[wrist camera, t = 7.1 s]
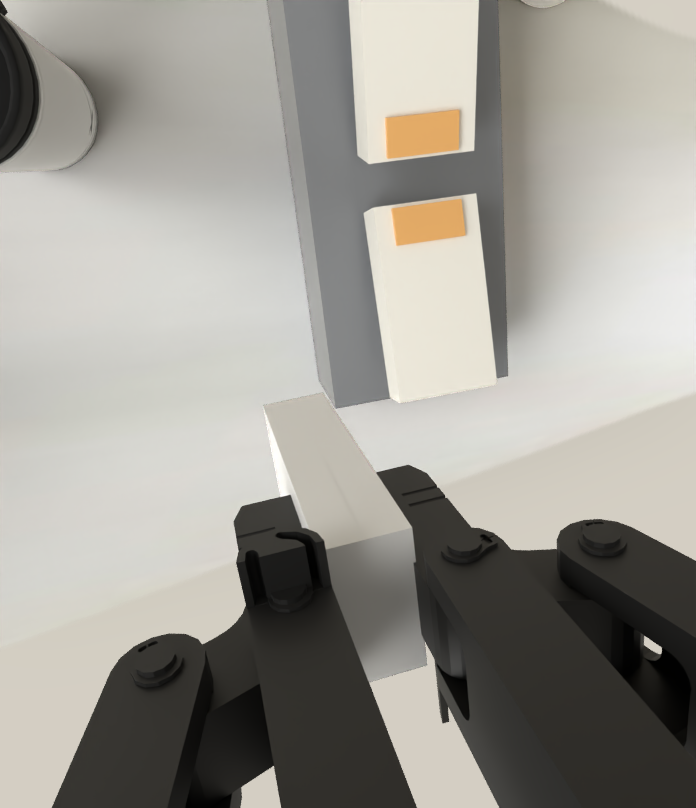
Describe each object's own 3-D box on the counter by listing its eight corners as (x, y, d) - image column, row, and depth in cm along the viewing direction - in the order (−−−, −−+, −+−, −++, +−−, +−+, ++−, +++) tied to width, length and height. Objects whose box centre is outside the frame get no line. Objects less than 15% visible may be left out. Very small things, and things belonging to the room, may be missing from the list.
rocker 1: (357, 155, 37) (369, 165, 35) (343, -87, 31) (357, -93, 29) (457, 143, 38) (475, 151, 36) (461, -94, 32) (484, -101, 30)
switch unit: (318, 380, 48) (339, 415, 42) (259, -55, 38) (274, -101, 32) (479, 351, 50) (524, 380, 44) (462, -69, 41) (516, -115, 34)
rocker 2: (389, 397, 40) (401, 404, 38) (363, 212, 38) (374, 207, 36) (481, 379, 41) (499, 385, 39) (460, 199, 39) (477, 192, 37)
